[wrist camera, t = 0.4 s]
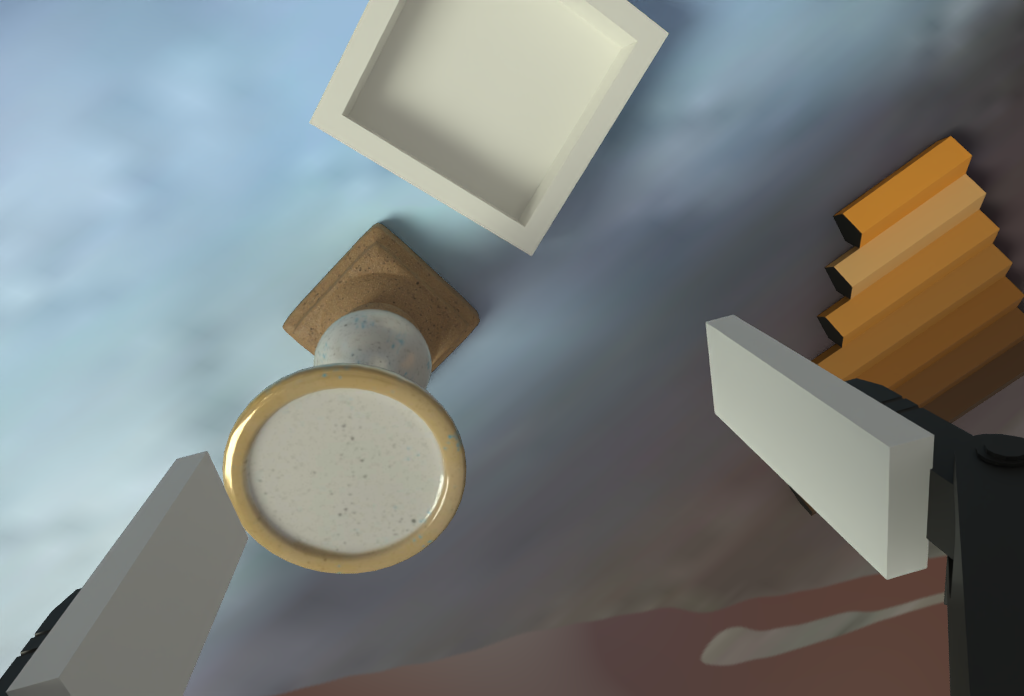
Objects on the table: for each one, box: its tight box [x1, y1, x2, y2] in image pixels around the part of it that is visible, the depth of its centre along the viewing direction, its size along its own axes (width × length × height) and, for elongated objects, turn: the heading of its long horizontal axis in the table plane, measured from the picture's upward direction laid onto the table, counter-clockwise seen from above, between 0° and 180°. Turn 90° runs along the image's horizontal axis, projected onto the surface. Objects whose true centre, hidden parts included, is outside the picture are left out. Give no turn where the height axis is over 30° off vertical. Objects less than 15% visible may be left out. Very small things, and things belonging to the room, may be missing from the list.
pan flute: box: [789, 136, 1024, 516], centre depth 53 cm, size 25×3×25 cm
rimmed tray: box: [309, 0, 669, 256], centre depth 41 cm, size 17×17×4 cm
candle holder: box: [222, 223, 480, 574], centre depth 37 cm, size 11×11×24 cm
